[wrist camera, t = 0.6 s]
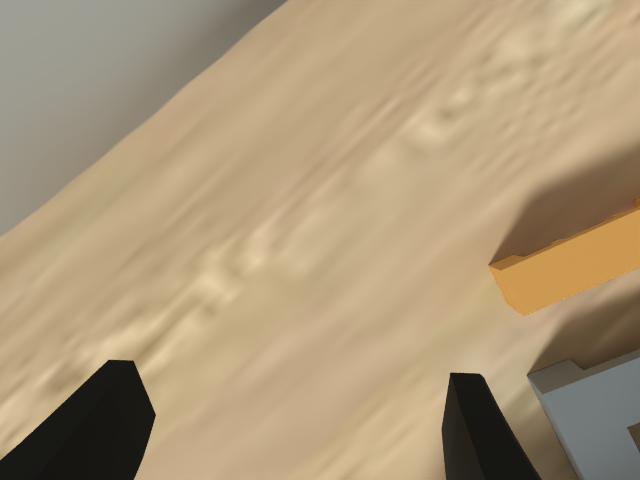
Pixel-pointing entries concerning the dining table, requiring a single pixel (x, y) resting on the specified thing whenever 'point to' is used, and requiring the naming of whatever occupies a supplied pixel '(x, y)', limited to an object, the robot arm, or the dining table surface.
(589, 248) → the notched orange plank
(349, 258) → the dining table surface
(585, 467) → the grey frame
